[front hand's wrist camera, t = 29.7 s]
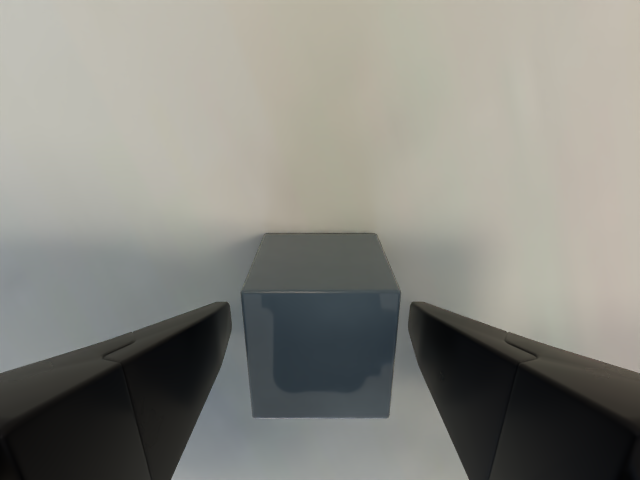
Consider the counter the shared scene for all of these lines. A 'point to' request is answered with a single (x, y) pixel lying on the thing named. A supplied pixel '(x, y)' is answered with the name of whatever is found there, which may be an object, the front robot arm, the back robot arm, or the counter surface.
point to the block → (320, 327)
